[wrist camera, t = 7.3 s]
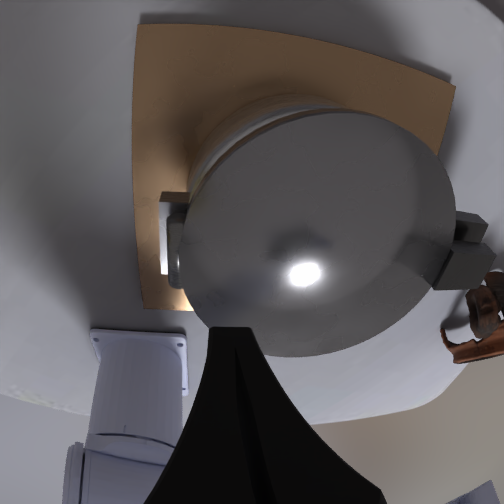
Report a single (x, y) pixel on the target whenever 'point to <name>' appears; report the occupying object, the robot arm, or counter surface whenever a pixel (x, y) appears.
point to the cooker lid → (320, 233)
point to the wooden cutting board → (249, 115)
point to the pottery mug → (482, 322)
